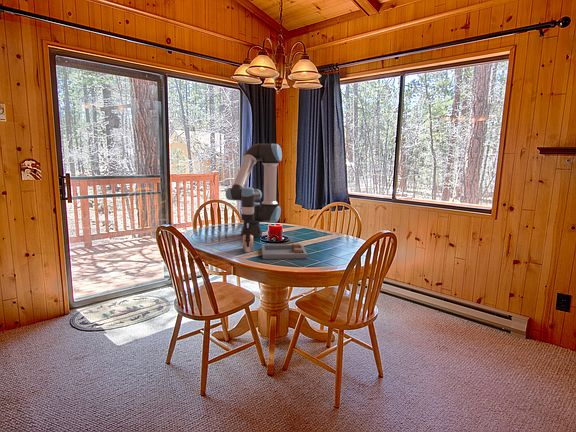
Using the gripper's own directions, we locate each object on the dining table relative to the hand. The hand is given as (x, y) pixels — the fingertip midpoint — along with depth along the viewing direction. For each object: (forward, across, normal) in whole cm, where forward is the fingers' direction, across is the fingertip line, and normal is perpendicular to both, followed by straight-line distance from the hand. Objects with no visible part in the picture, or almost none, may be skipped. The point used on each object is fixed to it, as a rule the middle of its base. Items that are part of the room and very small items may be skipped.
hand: (247, 249), depth 222 cm
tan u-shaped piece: (0, 0, 0) cm, 0 cm away
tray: (0, +10, +21) cm, 23 cm away
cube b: (0, +15, +29) cm, 33 cm away
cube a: (0, +5, +29) cm, 29 cm away
